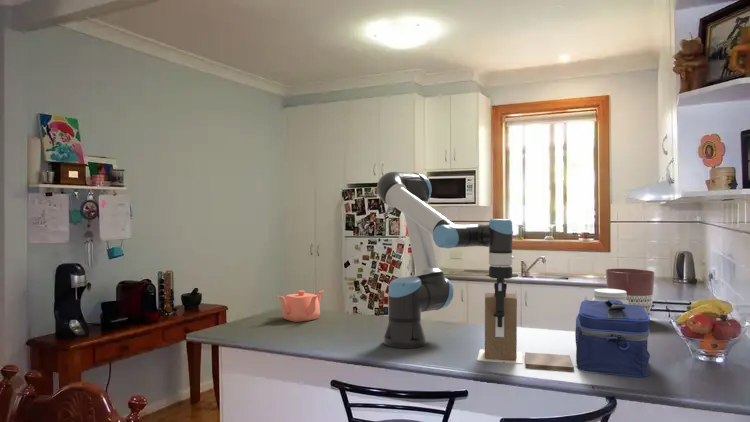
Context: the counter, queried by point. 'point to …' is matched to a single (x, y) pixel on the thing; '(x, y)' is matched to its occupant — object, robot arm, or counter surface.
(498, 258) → the robot arm
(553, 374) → the counter surface
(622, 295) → the supplement tub
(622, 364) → the lunch bag
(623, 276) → the planter
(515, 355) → the wooden block
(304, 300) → the pot
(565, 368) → the board
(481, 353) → the tile
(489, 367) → the counter surface
